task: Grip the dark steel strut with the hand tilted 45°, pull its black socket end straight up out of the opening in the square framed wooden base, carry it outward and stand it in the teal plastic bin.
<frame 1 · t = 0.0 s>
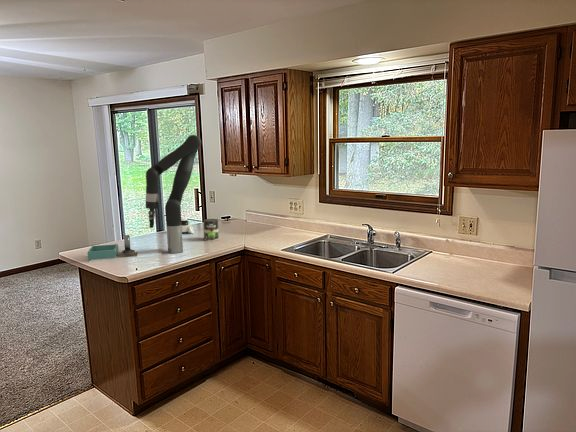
hand: (151, 226, 266), 17 cm above the counter, tool pointing down, fingers open, 8 cm apart
bin: (104, 257, 260), on the counter
coffee can: (211, 239, 305), on the counter
strut: (128, 254, 262), point 1 cm above the counter, touching square framed wooden base
square framed wooden base: (128, 256, 262), on the counter
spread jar: (186, 233, 327), on the counter
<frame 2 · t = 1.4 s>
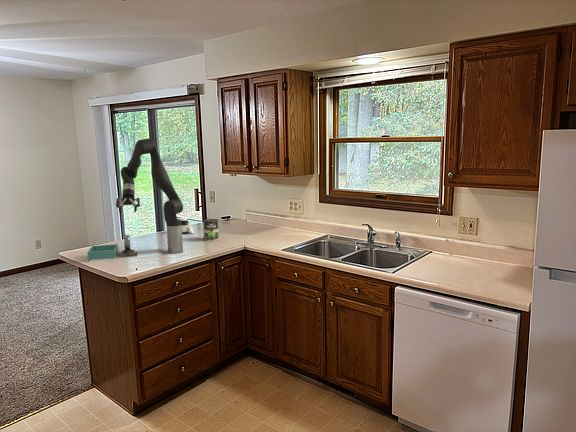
hand: (127, 211, 272), 25 cm above the counter, tool tilted 45°, fingers open, 8 cm apart
nothing on the counter moved.
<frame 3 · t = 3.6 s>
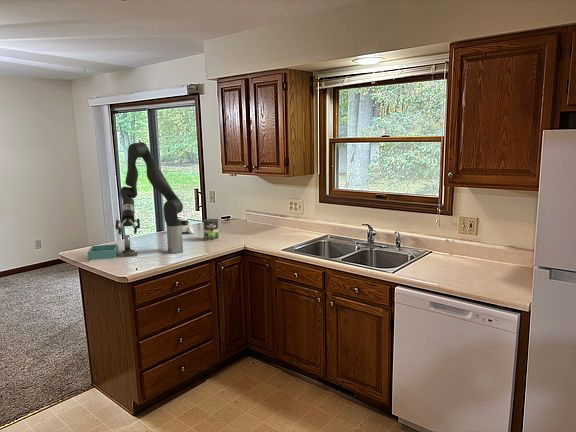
hand: (127, 233, 265), 13 cm above the counter, tool tilted 45°, fingers open, 8 cm apart
nothing on the counter moved.
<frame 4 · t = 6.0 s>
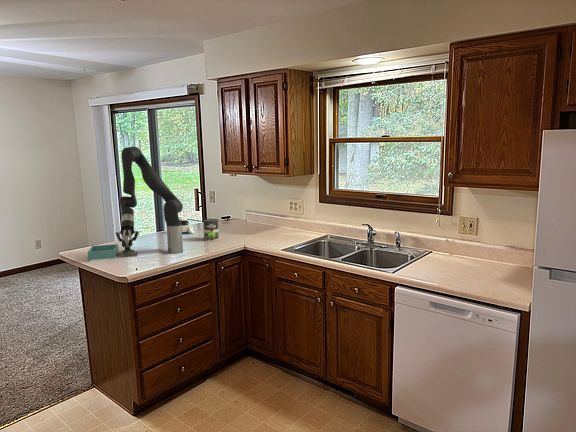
hand: (127, 246, 259), 7 cm above the counter, tool tilted 45°, fingers closed on strut, 3 cm apart
strut: (128, 254, 262), point 1 cm above the counter, touching gripper, square framed wooden base
everything else where it was.
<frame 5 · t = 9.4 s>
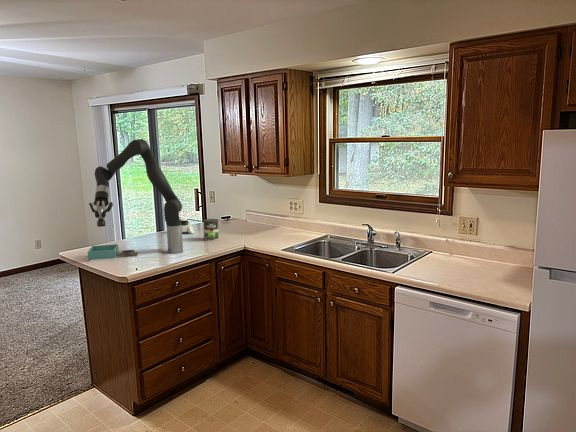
hand: (100, 217, 254), 25 cm above the counter, tool tilted 45°, fingers closed on strut, 3 cm apart
strut: (101, 225, 257), point 20 cm above the counter, touching gripper
everything else where it was.
when the fingers open (9 cm above the counter, at t = 12.8 s): strut drops 2 cm, resting on bin.
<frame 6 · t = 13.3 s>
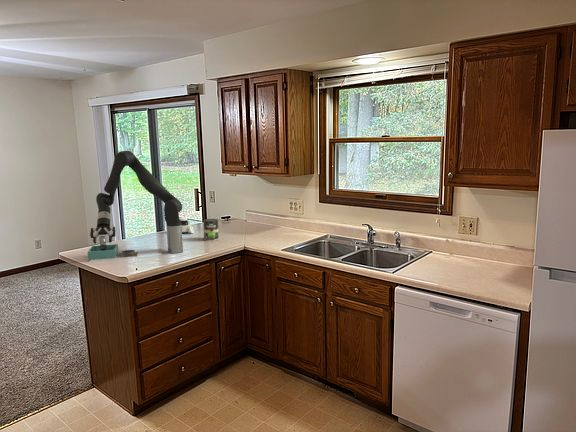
hand: (102, 242, 257), 10 cm above the counter, tool tilted 45°, fingers open, 8 cm apart
strut: (104, 255, 260), point 1 cm above the counter, touching bin
everything else where it was.
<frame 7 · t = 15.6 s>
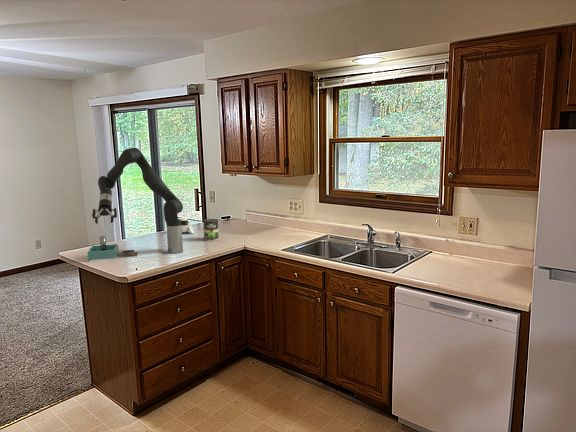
hand: (104, 222, 267), 19 cm above the counter, tool tilted 45°, fingers open, 8 cm apart
nothing on the counter moved.
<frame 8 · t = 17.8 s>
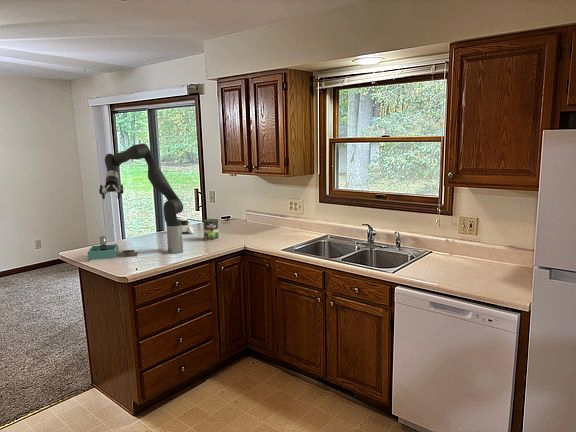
hand: (111, 198, 273), 34 cm above the counter, tool tilted 45°, fingers open, 8 cm apart
nothing on the counter moved.
at the end: strut inside the target area on the bin (0.1 cm from its centre), point 1.0 cm above the bin's base; the gripper is holding nothing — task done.
